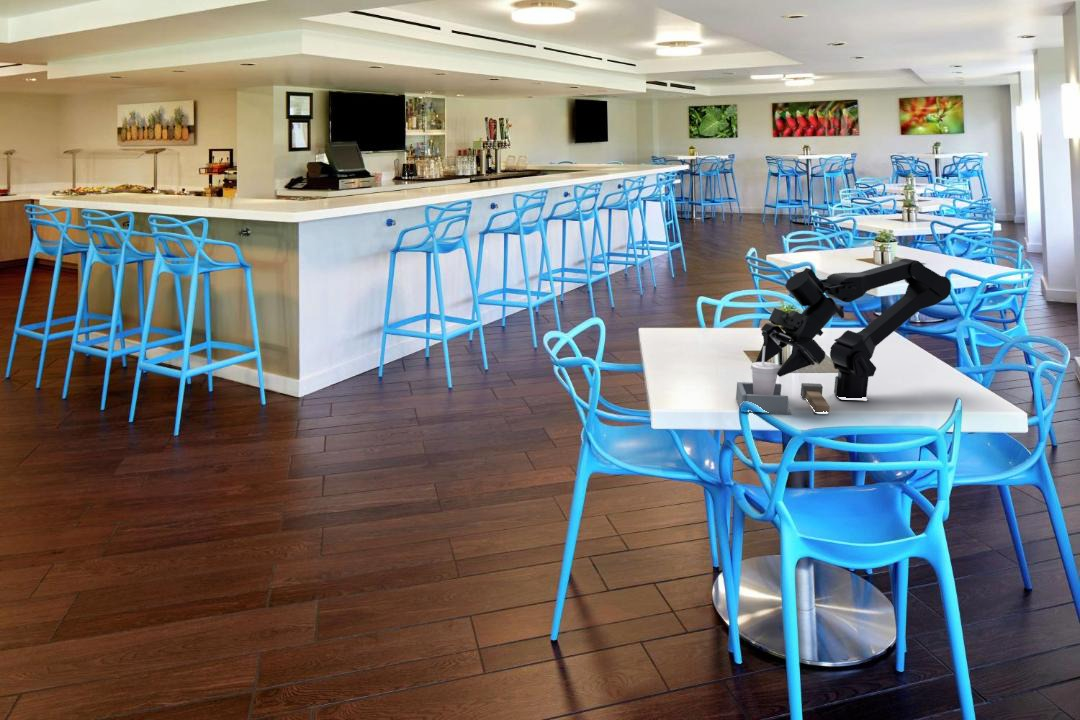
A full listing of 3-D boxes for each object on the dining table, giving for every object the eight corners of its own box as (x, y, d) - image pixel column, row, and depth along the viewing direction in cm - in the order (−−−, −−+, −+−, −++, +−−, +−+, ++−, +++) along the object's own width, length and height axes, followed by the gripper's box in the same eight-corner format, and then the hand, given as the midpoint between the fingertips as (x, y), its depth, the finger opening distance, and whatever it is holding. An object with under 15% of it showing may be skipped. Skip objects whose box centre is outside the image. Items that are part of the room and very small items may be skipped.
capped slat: (800, 395, 203) (801, 383, 202) (819, 396, 202) (820, 383, 201) (811, 414, 189) (813, 400, 189) (832, 415, 189) (833, 401, 188)
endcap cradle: (783, 400, 199) (785, 383, 198) (791, 414, 189) (792, 397, 188) (736, 398, 200) (737, 382, 199) (741, 412, 190) (742, 395, 189)
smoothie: (748, 400, 199) (752, 342, 195) (776, 403, 197) (781, 344, 194) (747, 408, 193) (752, 349, 189) (777, 411, 191) (781, 350, 188)
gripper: (770, 288, 199) (725, 338, 198) (817, 303, 181) (768, 357, 181) (797, 319, 203) (753, 367, 203) (846, 337, 185) (798, 389, 185)
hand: (767, 370), depth 193 cm, fingers open, 9 cm apart
